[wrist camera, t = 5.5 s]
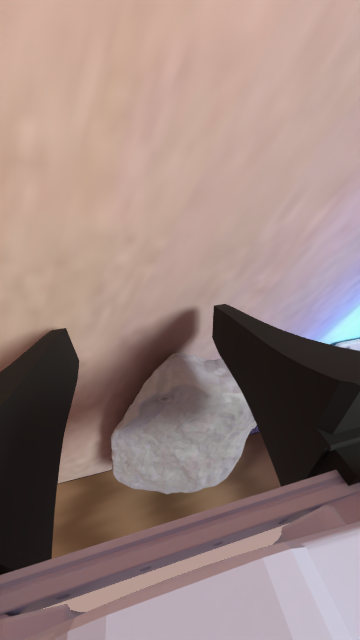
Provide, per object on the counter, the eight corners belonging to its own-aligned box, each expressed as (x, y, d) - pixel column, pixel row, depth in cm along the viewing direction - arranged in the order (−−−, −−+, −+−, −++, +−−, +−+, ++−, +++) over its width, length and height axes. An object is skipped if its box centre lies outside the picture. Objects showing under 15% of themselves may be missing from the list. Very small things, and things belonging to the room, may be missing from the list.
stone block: (112, 431, 20) (211, 448, 22) (96, 491, 16) (221, 506, 17) (141, 323, 15) (267, 355, 17) (129, 367, 11) (301, 405, 12)
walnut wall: (278, 427, 22) (313, 482, 18) (274, 437, 23) (307, 491, 19) (27, 491, 18) (0, 580, 14) (37, 500, 19) (14, 585, 15)
